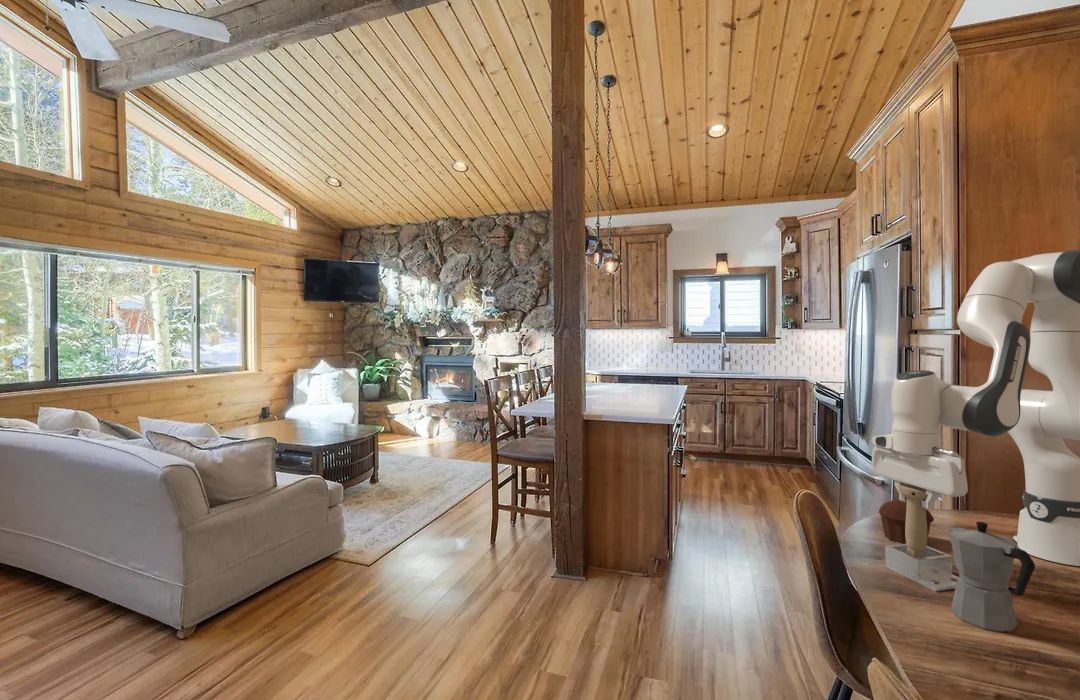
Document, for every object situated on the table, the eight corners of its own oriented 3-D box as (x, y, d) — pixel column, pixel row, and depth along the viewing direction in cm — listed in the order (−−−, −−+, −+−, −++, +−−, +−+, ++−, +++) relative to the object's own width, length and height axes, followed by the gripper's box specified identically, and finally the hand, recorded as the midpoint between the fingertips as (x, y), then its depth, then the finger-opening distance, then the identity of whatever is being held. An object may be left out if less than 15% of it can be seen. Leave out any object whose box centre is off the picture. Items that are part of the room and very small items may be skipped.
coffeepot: (929, 602, 99) (927, 511, 99) (972, 599, 100) (971, 509, 100) (1009, 649, 84) (1007, 541, 84) (1059, 644, 85) (1058, 538, 85)
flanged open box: (918, 562, 117) (917, 542, 117) (971, 586, 105) (971, 563, 105) (885, 566, 115) (885, 545, 115) (935, 591, 103) (935, 568, 103)
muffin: (873, 540, 131) (873, 501, 131) (884, 528, 139) (883, 492, 139) (930, 552, 122) (930, 511, 122) (938, 539, 130) (937, 501, 130)
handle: (932, 563, 108) (931, 493, 108) (896, 554, 113) (895, 487, 113) (936, 556, 111) (936, 489, 111) (901, 548, 116) (901, 483, 116)
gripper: (975, 452, 102) (976, 519, 102) (888, 435, 122) (889, 491, 123) (950, 453, 101) (951, 522, 101) (866, 436, 121) (867, 493, 121)
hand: (916, 505), depth 112 cm, fingers closed on handle, 4 cm apart
